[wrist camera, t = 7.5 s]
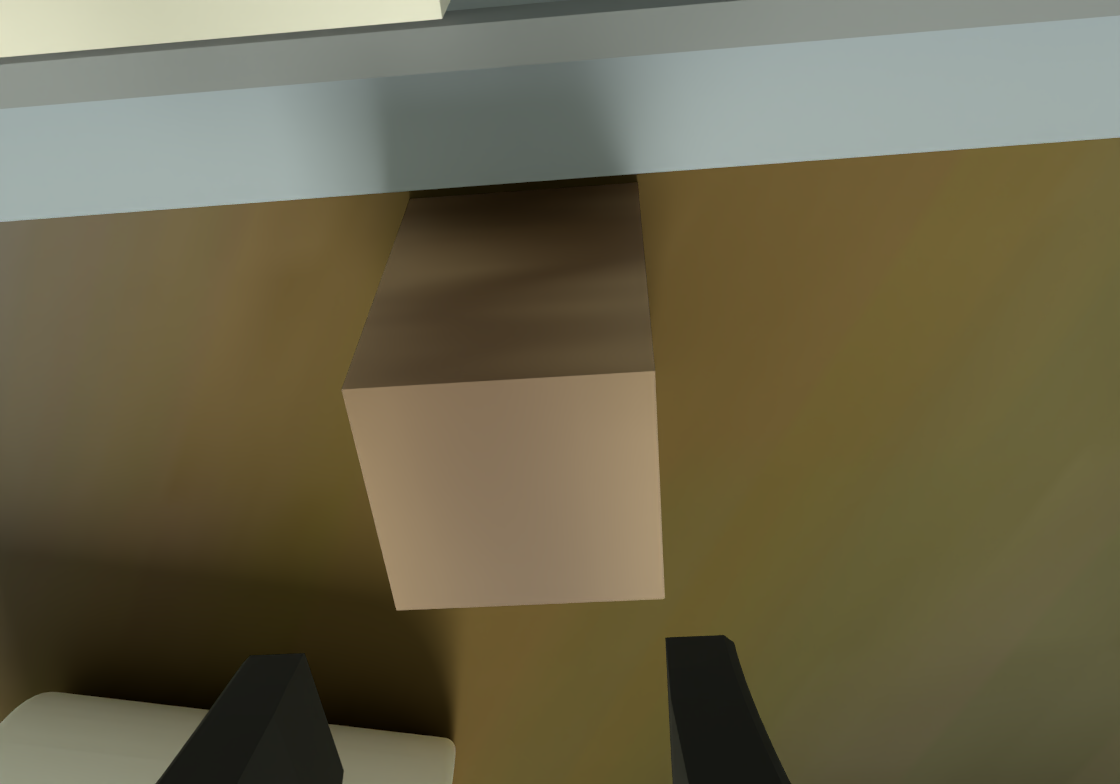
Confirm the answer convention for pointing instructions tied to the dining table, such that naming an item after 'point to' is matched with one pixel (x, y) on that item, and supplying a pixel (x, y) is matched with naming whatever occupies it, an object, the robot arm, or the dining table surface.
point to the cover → (185, 20)
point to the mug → (177, 744)
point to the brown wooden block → (512, 402)
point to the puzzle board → (546, 97)
